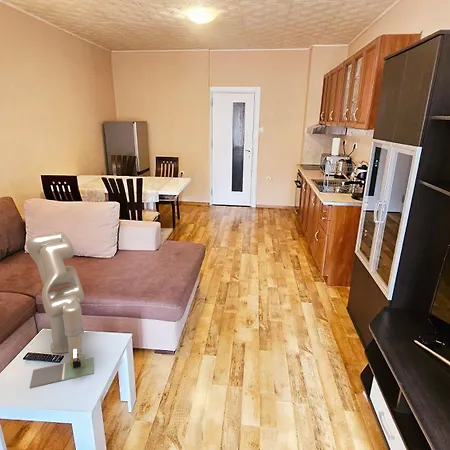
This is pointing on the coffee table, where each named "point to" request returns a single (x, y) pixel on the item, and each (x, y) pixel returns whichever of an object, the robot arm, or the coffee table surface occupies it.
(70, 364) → the ring
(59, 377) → the board
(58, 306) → the robot arm
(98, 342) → the coffee table surface
